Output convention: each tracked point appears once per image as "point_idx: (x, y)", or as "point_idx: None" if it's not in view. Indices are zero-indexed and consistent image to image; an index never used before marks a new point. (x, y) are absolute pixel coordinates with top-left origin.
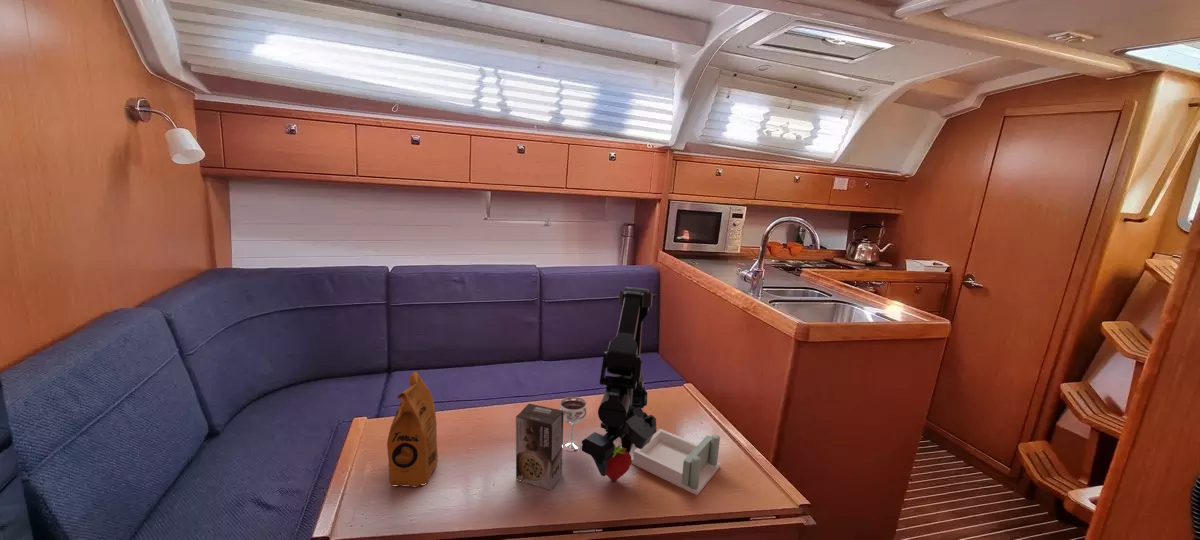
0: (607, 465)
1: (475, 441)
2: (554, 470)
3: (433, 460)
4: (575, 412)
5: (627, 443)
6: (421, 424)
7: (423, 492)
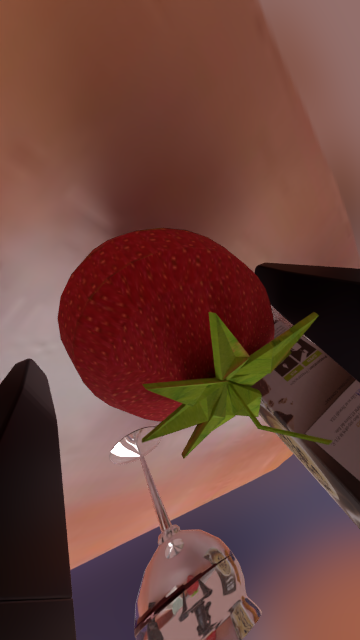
0: (331, 277)
1: (250, 447)
2: (304, 357)
3: None
4: (232, 609)
5: (24, 469)
6: None
7: None
